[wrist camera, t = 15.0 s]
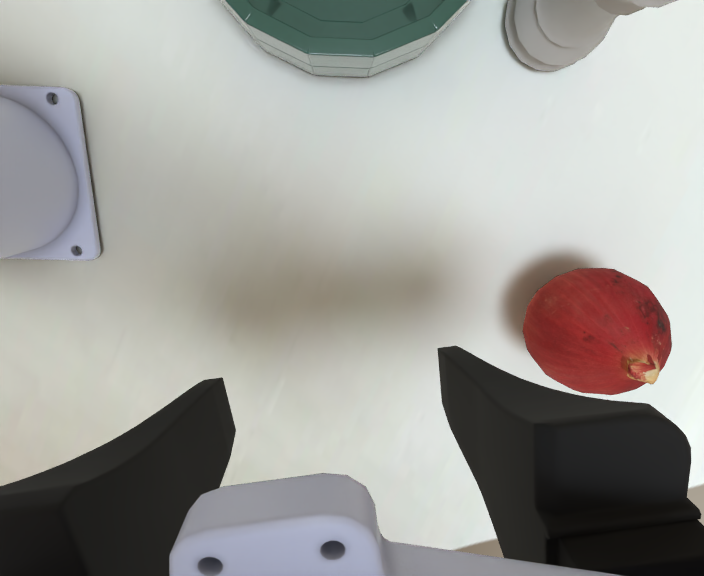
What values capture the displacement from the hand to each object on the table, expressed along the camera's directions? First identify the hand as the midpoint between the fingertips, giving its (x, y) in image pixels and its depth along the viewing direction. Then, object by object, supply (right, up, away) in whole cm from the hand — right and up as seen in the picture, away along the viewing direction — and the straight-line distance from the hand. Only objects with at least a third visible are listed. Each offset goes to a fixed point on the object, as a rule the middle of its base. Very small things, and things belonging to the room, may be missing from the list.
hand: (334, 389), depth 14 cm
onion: (+12, +3, +10) cm, 15 cm away
